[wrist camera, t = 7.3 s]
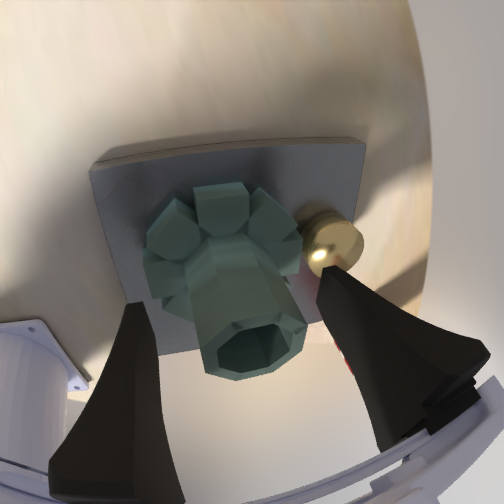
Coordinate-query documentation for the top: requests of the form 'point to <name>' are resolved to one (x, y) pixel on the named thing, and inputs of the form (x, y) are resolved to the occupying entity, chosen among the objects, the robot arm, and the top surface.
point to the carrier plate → (252, 176)
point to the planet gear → (230, 277)
